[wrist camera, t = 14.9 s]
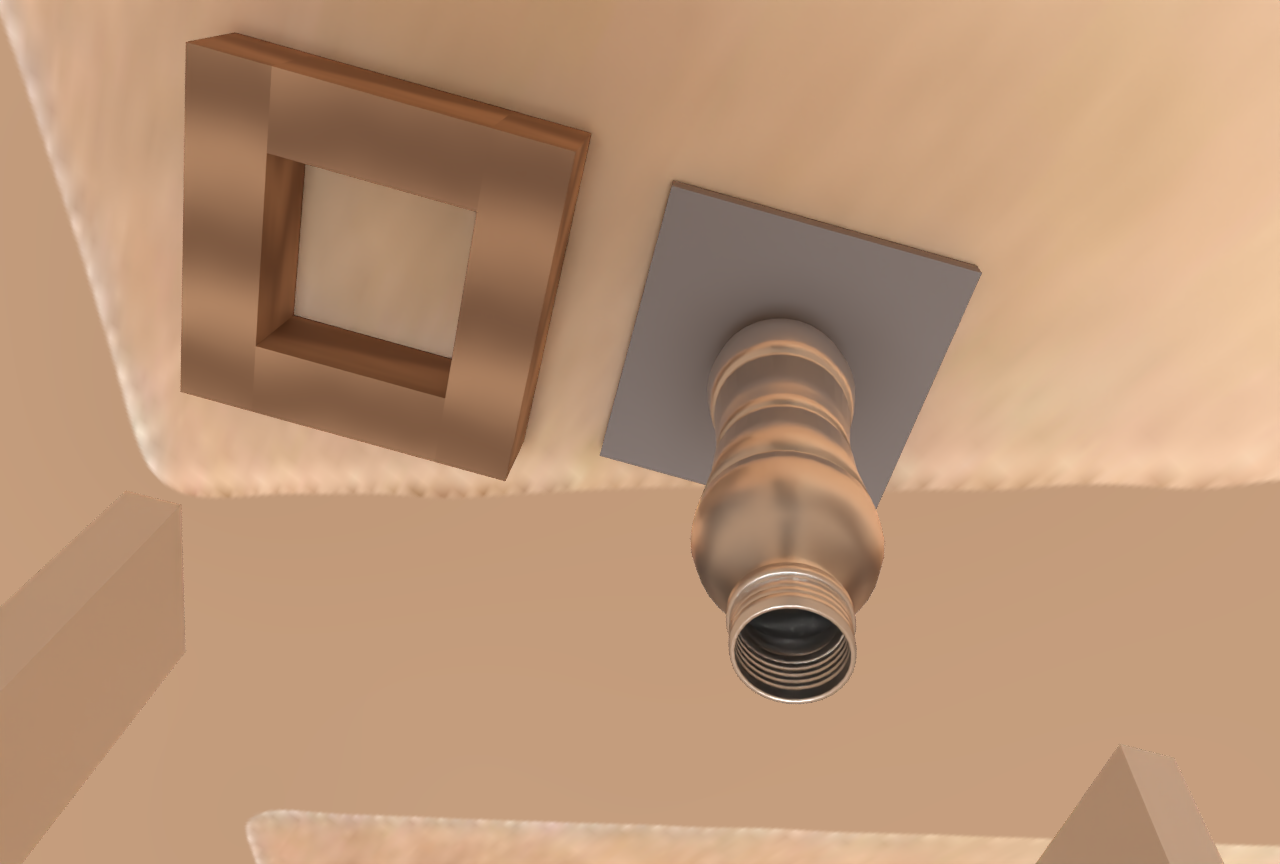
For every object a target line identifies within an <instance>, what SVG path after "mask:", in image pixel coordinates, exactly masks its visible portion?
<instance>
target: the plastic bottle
mask: <svg viewBox="0 0 1280 864" xmlns="http://www.w3.org/2000/svg"><path fill="white" fill-rule="evenodd" d="M707 392H708V404H709V410H710V415H711V419H712V422H713V426H714V428H715V434H716V451H715V455H714V460H713V465H712V471H711V474H710V476H709V479H708V481H707V484H706V486H705V489H704V491H703V494H702V496H701V498H700V501H699V503H698V506H697V508H696V512H695V516H694V520H693V525H692V531H691V538H690V540H691V553H692V557H693V560H694V563H695V567H696V570H697V572H698V575H699V577H700V580H701V583H702V585H703V586H704V588H705V590H706V592H707V593H708V595H709V597H710V598H711V599H712V600H713V602H714V603H715V604H716V605H717V606H718V607H719V608H720V609H721V610H722V611H723V612H724V613H725V614H726V624H727V630H728V634H729V655H730V659H731V663H732V666H733V669H734V670H735V672H736V674H737V676H738V677H739V678H740V680H741V681H742V682H743V683H744V684H745V685H746V686H747V687H749V688H750V689H751V690H753V691H754V692H755V693H757V694H759V695H761V696H763V697H765V698H767V699H770V700H773V701H776V702H782V703H787V704H804V703H812V702H815V701H819V700H822V699H825V698H827V697H829V696H831V695H833V694H834V693H836V692H837V691H838V690H839V689H841V688H842V687H843V686H844V685H845V684H846V683H847V681H848V680H849V678H850V676H851V675H852V673H853V670H854V667H855V663H856V642H855V632H856V618H855V614H856V613H857V612H858V611H859V610H860V609H861V608H862V606H863V605H864V604H865V603H866V602H867V601H868V599H869V597H870V596H871V594H872V592H873V590H874V588H875V586H876V583H877V580H878V577H879V574H880V570H881V567H882V563H883V559H884V542H885V541H884V536H883V531H882V527H881V523H880V520H879V517H878V514H877V511H876V509H875V506H874V504H873V502H872V500H871V498H870V496H869V494H868V492H867V490H866V488H865V486H864V484H863V482H862V480H861V477H860V475H859V473H858V471H857V468H856V464H855V461H854V457H853V454H852V451H851V446H850V427H851V423H852V419H853V415H854V406H855V384H854V380H853V375H852V372H851V370H850V368H849V365H848V363H847V361H846V360H845V358H844V357H843V355H842V354H841V353H840V351H839V350H838V348H837V347H836V346H835V344H834V343H833V341H831V340H830V339H829V338H828V337H827V336H826V335H825V334H824V333H823V332H821V331H819V330H818V329H816V328H815V327H813V326H811V325H809V324H806V323H803V322H801V321H797V320H791V319H785V318H784V319H768V320H763V321H758V322H756V323H753V324H751V325H749V326H746V327H745V328H743V329H742V330H740V331H739V332H737V333H736V334H735V335H734V336H733V337H732V338H731V339H730V340H729V341H728V342H727V343H726V344H725V346H724V347H723V349H722V350H721V352H720V353H719V355H718V357H717V358H716V360H715V362H714V364H713V366H712V369H711V372H710V374H709V380H708V387H707Z"/></svg>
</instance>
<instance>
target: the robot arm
mask: <svg viewBox="0 0 1280 864" xmlns="http://www.w3.org/2000/svg"><path fill="white" fill-rule="evenodd" d="M184 618H185V617H184V583H183V547H182V513H181V504H177V503H173V502H169V501H165V500H161V499H157V498H153V497H149V496H145V495H141V494H137V493H133V492H130V491H125V492H124V493H123V494H122V495H121V496H120V497H119V498H118V499H116V500H115V501H114V502H113V503H112V504H111V505H110V506H109V507H108V508H107V509H106V510H104V511H103V513H101V514H100V515H99V516H98V517H97V518H96V519H95V520H94V521H93V522H92V523H90V525H88V526H87V527H86V528H85V529H84V530H83V531H82V532H81V533H80V534H78V536H76V537H75V538H74V539H73V540H72V541H71V542H70V543H69V544H68V545H67V546H65V548H63V549H62V550H61V551H60V552H59V553H58V554H57V555H56V556H55V557H54V558H53V559H51V560H50V561H49V562H48V563H47V564H46V565H45V566H44V567H43V568H42V569H41V570H39V571H38V572H37V573H36V574H35V575H34V576H33V577H32V578H31V579H30V580H29V581H28V582H26V583H25V584H24V585H23V586H22V587H21V588H20V589H19V590H18V591H17V592H16V593H15V594H14V595H12V596H11V597H10V598H9V599H8V600H7V601H6V602H5V603H4V604H3V605H2V606H0V864H22V863H23V862H24V860H25V859H26V858H27V856H28V855H29V854H30V853H31V851H32V850H33V849H34V847H35V846H36V845H37V844H38V842H39V841H40V840H41V838H42V837H43V836H44V835H45V833H46V832H47V831H48V829H49V828H50V827H51V825H52V824H53V823H54V822H55V820H56V819H57V817H58V816H59V815H60V814H61V812H62V811H63V810H64V809H65V807H66V806H67V805H68V803H69V802H70V801H71V799H72V798H73V797H74V796H75V794H76V793H77V792H78V791H79V789H80V788H81V787H82V785H83V784H84V783H85V781H86V780H87V779H88V777H89V776H90V775H91V774H92V772H93V771H94V770H95V769H96V767H97V766H98V765H99V763H100V762H101V761H102V759H103V758H104V757H105V755H106V754H107V753H108V752H109V750H110V749H111V748H112V747H113V745H114V744H115V743H116V741H117V740H118V739H119V737H120V736H121V735H122V733H123V732H124V731H125V730H126V728H127V727H128V726H129V725H130V723H131V722H132V721H133V719H134V718H135V717H136V715H137V714H138V713H139V712H140V710H141V709H142V708H143V706H144V705H145V704H146V702H147V701H148V700H149V699H150V697H151V696H152V695H153V693H154V692H155V691H156V690H157V688H158V687H159V686H160V684H161V683H162V682H163V681H164V679H165V678H166V676H167V675H168V674H169V673H170V672H171V670H172V669H173V668H174V666H175V665H176V664H177V662H178V661H179V660H180V659H181V657H182V656H183V655H184V653H185V620H184ZM1036 864H1224V863H1223V860H1222V858H1221V856H1220V854H1219V852H1218V850H1217V848H1216V846H1215V843H1214V841H1213V839H1212V837H1211V835H1210V833H1209V831H1208V829H1207V826H1206V824H1205V822H1204V820H1203V818H1202V816H1201V814H1200V812H1199V809H1198V807H1197V805H1196V803H1195V801H1194V799H1193V797H1192V795H1191V792H1190V790H1189V788H1188V786H1187V784H1186V782H1185V780H1184V778H1183V776H1182V773H1181V771H1180V769H1179V767H1178V765H1177V763H1176V761H1175V758H1173V757H1169V756H1166V755H1161V754H1158V753H1154V752H1150V751H1146V750H1142V749H1138V748H1134V747H1130V746H1126V745H1122V744H1119V746H1118V747H1117V749H1116V750H1115V752H1114V753H1113V754H1112V756H1111V757H1110V759H1109V760H1108V761H1107V763H1106V764H1105V766H1104V767H1103V769H1102V770H1101V772H1100V773H1099V774H1098V776H1097V777H1096V779H1095V780H1094V781H1093V783H1092V784H1091V786H1090V787H1089V789H1088V790H1087V791H1086V793H1085V794H1084V796H1083V797H1082V799H1081V800H1080V802H1079V803H1078V804H1077V806H1076V807H1075V809H1074V810H1073V812H1072V813H1071V814H1070V816H1069V817H1068V819H1067V820H1066V821H1065V823H1064V824H1063V826H1062V827H1061V829H1060V830H1059V831H1058V833H1057V834H1056V836H1055V837H1054V839H1053V840H1052V841H1051V843H1050V844H1049V846H1048V847H1047V848H1046V850H1045V851H1044V853H1043V854H1042V856H1041V857H1040V858H1039V860H1038V861H1037V863H1036Z"/></svg>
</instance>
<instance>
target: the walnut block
mask: <svg viewBox="0 0 1280 864" xmlns="http://www.w3.org/2000/svg"><path fill="white" fill-rule="evenodd" d="M590 137H591V133H589V132H585V131H582V130H578V129H575V128H571V127H567V126H564V125H560V124H557V123H553V122H550V121H546V120H543V119H539V118H536V117H532V116H528V115H525V114H521V113H518V112H514V111H511V110H507V109H504V108H500V107H497V106H493V105H490V104H486V103H482V102H479V101H475V100H472V99H468V98H465V97H461V96H458V95H454V94H451V93H447V92H443V91H440V90H436V89H433V88H429V87H426V86H422V85H419V84H415V83H412V82H408V81H405V80H401V79H397V78H394V77H390V76H387V75H383V74H380V73H376V72H373V71H369V70H366V69H362V68H359V67H355V66H351V65H348V64H344V63H341V62H337V61H334V60H330V59H327V58H323V57H320V56H316V55H312V54H309V53H305V52H302V51H298V50H295V49H291V48H288V47H284V46H281V45H277V44H274V43H270V42H266V41H263V40H259V39H256V38H252V37H249V36H245V35H242V34H238V33H231V34H225V35H220V36H215V37H210V38H204V39H199V40H194V41H188V42H186V73H185V138H184V203H183V267H182V332H181V392H183V393H187V394H191V395H194V396H198V397H202V398H205V399H209V400H212V401H216V402H220V403H223V404H227V405H231V406H234V407H238V408H241V409H245V410H249V411H252V412H256V413H260V414H263V415H267V416H271V417H274V418H278V419H281V420H285V421H289V422H292V423H296V424H300V425H303V426H307V427H310V428H314V429H318V430H321V431H325V432H329V433H332V434H336V435H340V436H343V437H347V438H350V439H354V440H358V441H361V442H365V443H369V444H372V445H376V446H379V447H383V448H387V449H390V450H394V451H398V452H401V453H405V454H408V455H412V456H416V457H419V458H423V459H427V460H430V461H434V462H438V463H441V464H445V465H448V466H452V467H456V468H459V469H463V470H467V471H470V472H474V473H477V474H481V475H485V476H488V477H492V478H496V479H499V480H503V481H506V478H507V476H508V474H509V472H510V470H511V468H512V466H513V463H514V461H515V459H516V457H517V455H518V453H519V451H520V448H521V446H522V444H523V442H524V438H525V433H526V429H527V424H528V420H529V415H530V410H531V406H532V401H533V397H534V392H535V388H536V383H537V379H538V374H539V369H540V365H541V360H542V356H543V351H544V347H545V342H546V338H547V333H548V328H549V324H550V319H551V315H552V310H553V306H554V301H555V297H556V292H557V287H558V283H559V278H560V274H561V269H562V265H563V260H564V256H565V251H566V247H567V242H568V237H569V233H570V228H571V224H572V219H573V215H574V210H575V206H576V201H577V196H578V192H579V187H580V183H581V178H582V174H583V169H584V165H585V160H586V155H587V151H588V146H589V142H590ZM305 164H308V165H311V166H315V167H318V168H322V169H325V170H329V171H333V172H336V173H340V174H343V175H347V176H350V177H354V178H358V179H361V180H365V181H368V182H372V183H375V184H379V185H383V186H386V187H390V188H393V189H397V190H400V191H404V192H407V193H411V194H415V195H418V196H422V197H425V198H429V199H432V200H436V201H440V202H443V203H447V204H450V205H454V206H457V207H461V208H465V209H468V210H472V211H475V212H477V213H476V219H475V225H474V231H473V237H472V243H471V249H470V255H469V261H468V266H467V272H466V278H465V284H464V290H463V296H462V302H461V308H460V314H459V320H458V326H457V332H456V338H455V344H454V349H453V355H452V359H449V358H445V357H442V356H438V355H435V354H431V353H427V352H424V351H420V350H417V349H413V348H409V347H406V346H402V345H399V344H395V343H391V342H388V341H384V340H381V339H377V338H373V337H370V336H366V335H363V334H359V333H355V332H352V331H348V330H345V329H341V328H337V327H334V326H330V325H326V324H323V323H319V322H316V321H312V320H308V319H305V318H301V317H298V316H294V315H293V314H294V301H295V288H296V275H297V262H298V249H299V236H300V223H301V210H302V197H303V184H304V171H305Z"/></svg>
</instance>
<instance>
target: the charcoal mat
mask: <svg viewBox="0 0 1280 864" xmlns="http://www.w3.org/2000/svg"><path fill="white" fill-rule="evenodd" d="M981 274H982V273H981V271H980V270H979V268H978V267H977V266H975V265H972V264H968V263H965V262H961V261H958V260H954V259H951V258H947V257H943V256H940V255H936V254H933V253H929V252H926V251H922V250H919V249H915V248H912V247H908V246H904V245H901V244H897V243H894V242H890V241H887V240H883V239H880V238H876V237H873V236H869V235H865V234H862V233H858V232H855V231H851V230H848V229H844V228H841V227H837V226H834V225H830V224H826V223H823V222H819V221H816V220H812V219H809V218H805V217H802V216H798V215H795V214H791V213H787V212H784V211H780V210H777V209H773V208H770V207H766V206H763V205H759V204H755V203H752V202H748V201H745V200H741V199H738V198H734V197H731V196H727V195H724V194H720V193H716V192H713V191H709V190H706V189H702V188H699V187H695V186H692V185H688V184H685V183H681V182H677V181H673V184H672V187H671V191H670V195H669V198H668V202H667V206H666V210H665V213H664V217H663V221H662V225H661V228H660V232H659V236H658V240H657V243H656V247H655V251H654V255H653V258H652V262H651V266H650V270H649V273H648V277H647V281H646V284H645V288H644V292H643V296H642V299H641V303H640V307H639V311H638V314H637V318H636V322H635V326H634V329H633V333H632V337H631V341H630V344H629V348H628V352H627V356H626V359H625V363H624V367H623V371H622V374H621V378H620V382H619V386H618V389H617V393H616V397H615V401H614V404H613V408H612V412H611V416H610V419H609V423H608V427H607V431H606V434H605V438H604V442H603V445H602V449H601V453H600V456H603V457H606V458H610V459H614V460H617V461H621V462H624V463H628V464H632V465H635V466H639V467H643V468H646V469H650V470H653V471H657V472H661V473H664V474H668V475H671V476H675V477H679V478H682V479H686V480H690V481H693V482H697V483H700V484H704V485H706V484H707V481H708V479H709V476H710V474H711V471H712V465H713V460H714V455H715V451H716V434H715V428H714V426H713V422H712V419H711V415H710V410H709V404H708V392H707V387H708V380H709V374H710V372H711V369H712V366H713V364H714V362H715V360H716V358H717V357H718V355H719V353H720V352H721V350H722V349H723V347H724V346H725V344H726V343H727V342H728V341H729V340H730V339H731V338H732V337H733V336H734V335H735V334H736V333H737V332H739V331H740V330H742V329H743V328H745V327H746V326H749V325H751V324H753V323H756V322H758V321H763V320H768V319H784V318H785V319H791V320H797V321H801V322H803V323H806V324H809V325H811V326H813V327H815V328H816V329H818V330H819V331H821V332H823V333H824V334H825V335H826V336H827V337H828V338H829V339H830V340H831V341H833V343H834V344H835V346H836V347H837V348H838V350H839V351H840V353H841V354H842V355H843V357H844V358H845V360H846V361H847V363H848V365H849V368H850V370H851V372H852V375H853V380H854V384H855V406H854V415H853V419H852V423H851V427H850V446H851V451H852V454H853V457H854V461H855V464H856V468H857V471H858V473H859V475H860V477H861V480H862V482H863V484H864V486H865V488H866V490H867V492H868V494H869V496H870V498H871V500H872V502H873V504H874V506H875V509H877V506H878V504H879V502H880V500H881V497H882V495H883V493H884V491H885V488H886V486H887V484H888V482H889V479H890V477H891V475H892V473H893V470H894V468H895V466H896V464H897V462H898V459H899V457H900V455H901V453H902V450H903V448H904V446H905V444H906V441H907V439H908V437H909V435H910V432H911V430H912V428H913V426H914V423H915V421H916V419H917V417H918V415H919V412H920V410H921V408H922V406H923V403H924V401H925V399H926V397H927V394H928V392H929V390H930V388H931V385H932V383H933V381H934V379H935V377H936V374H937V372H938V370H939V368H940V365H941V363H942V361H943V359H944V356H945V354H946V352H947V350H948V347H949V345H950V343H951V341H952V338H953V336H954V334H955V332H956V330H957V327H958V325H959V323H960V321H961V318H962V316H963V314H964V312H965V309H966V307H967V305H968V303H969V300H970V298H971V296H972V294H973V291H974V289H975V287H976V285H977V283H978V280H979V278H980V276H981Z"/></svg>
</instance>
